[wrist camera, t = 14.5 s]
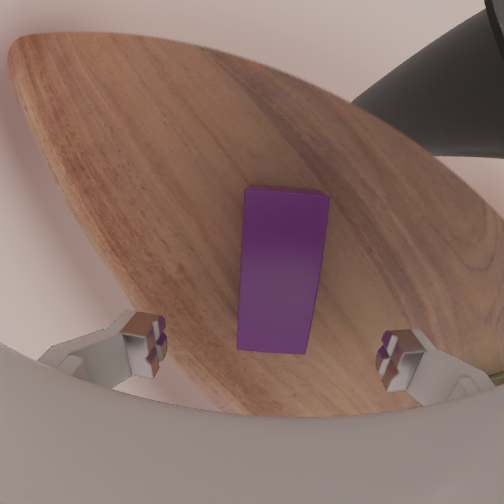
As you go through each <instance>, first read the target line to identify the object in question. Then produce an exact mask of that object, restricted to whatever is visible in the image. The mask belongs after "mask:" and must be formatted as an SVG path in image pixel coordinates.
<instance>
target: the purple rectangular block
mask: <svg viewBox="0 0 504 504" xmlns="http://www.w3.org/2000/svg"><path fill="white" fill-rule="evenodd" d="M329 200H330V197H329V196H328V195H326V194H324V193H322V192H320V191H318V190H309V189H299V188H288V187H276V186H263V185H250V186H248V187H247V188H246V189H245V192H244V210H243V228H242V246H241V265H240V285H239V306H238V328H237V349H238V350H246V351H257V352H270V353H285V354H305V353H306V348H307V343H308V338H309V333H310V328H311V323H312V318H313V312H314V307H315V301H316V295H317V289H318V283H319V277H320V270H321V264H322V257H323V250H324V242H325V235H326V227H327V218H328V210H329Z"/></svg>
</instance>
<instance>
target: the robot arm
mask: <svg viewBox="0 0 504 504" xmlns="http://www.w3.org/2000/svg"><path fill="white" fill-rule="evenodd" d="M165 327H166V324H165V318H164V317H163V316H161V315H155V314H149V313H144V312H138V311H132V310H125V311H124V312H123V313H122V314H121V315H120V316H119V317H118V318H117V319H116V320H115V321H114V322H113V324H111V326H110V327H109V328H108V329H107V330H104V329H102V330H99V331H97V332H94V333H90V334H88V335H85V336H81V337H79V338H76V339H73V340H70V341H66V342H64V343H60V344H57V345H54V346H52V347H51V348H50V349H48V350H47V352H45V353H44V354H43V355H42V356H41V357H40V358H39V359H38V360H37V361H36V360H33V359H31V358H29V357H27V356H25V355H23V354H21V353H19V352H17V351H15V350H13V349H11V348H9V347H7V346H6V345H4V344H2V343H0V504H504V384H502V385H499V386H495V384H494V383H493V382H492V381H491V379H490V378H489V377H488V376H487V374H486V373H485V372H484V371H482V370H480V369H478V368H476V367H474V366H472V365H470V364H468V363H466V362H464V361H462V360H460V359H458V358H456V357H454V356H452V355H449V354H447V353H445V352H443V351H441V350H437V349H436V347H435V346H434V345H433V344H432V342H431V341H430V340H429V339H428V337H427V336H426V335H425V334H424V332H423V331H422V330H421V329H409V330H393V331H385V333H384V334H383V337H382V343H383V346H382V347H381V348H380V349H379V350H378V352H377V355H376V369H377V371H378V373H379V374H380V375H382V376H383V379H382V382H383V385H384V387H385V389H386V391H387V392H396V391H406V392H407V393H408V394H410V395H411V396H412V397H413V398H414V399H416V400H417V401H418V402H419V403H420V404H422V405H423V406H421V407H416V408H410V409H404V410H397V411H390V412H383V413H374V414H364V415H352V416H334V417H273V416H256V415H244V414H234V413H225V412H217V411H209V410H202V409H196V408H190V407H185V406H179V405H174V404H169V403H164V402H160V401H154V400H150V399H146V398H142V397H138V396H135V395H130V394H127V393H123V392H120V391H116V390H113V389H112V388H113V387H115V386H116V385H118V384H120V383H121V382H123V381H125V380H126V379H128V378H129V377H131V376H132V375H135V376H140V377H145V378H150V379H154V377H155V375H156V373H157V371H158V369H159V362H161V361H163V360H164V358H165V356H166V352H167V336H166V335H165V334H164V332H163V330H164V329H165Z"/></svg>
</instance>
